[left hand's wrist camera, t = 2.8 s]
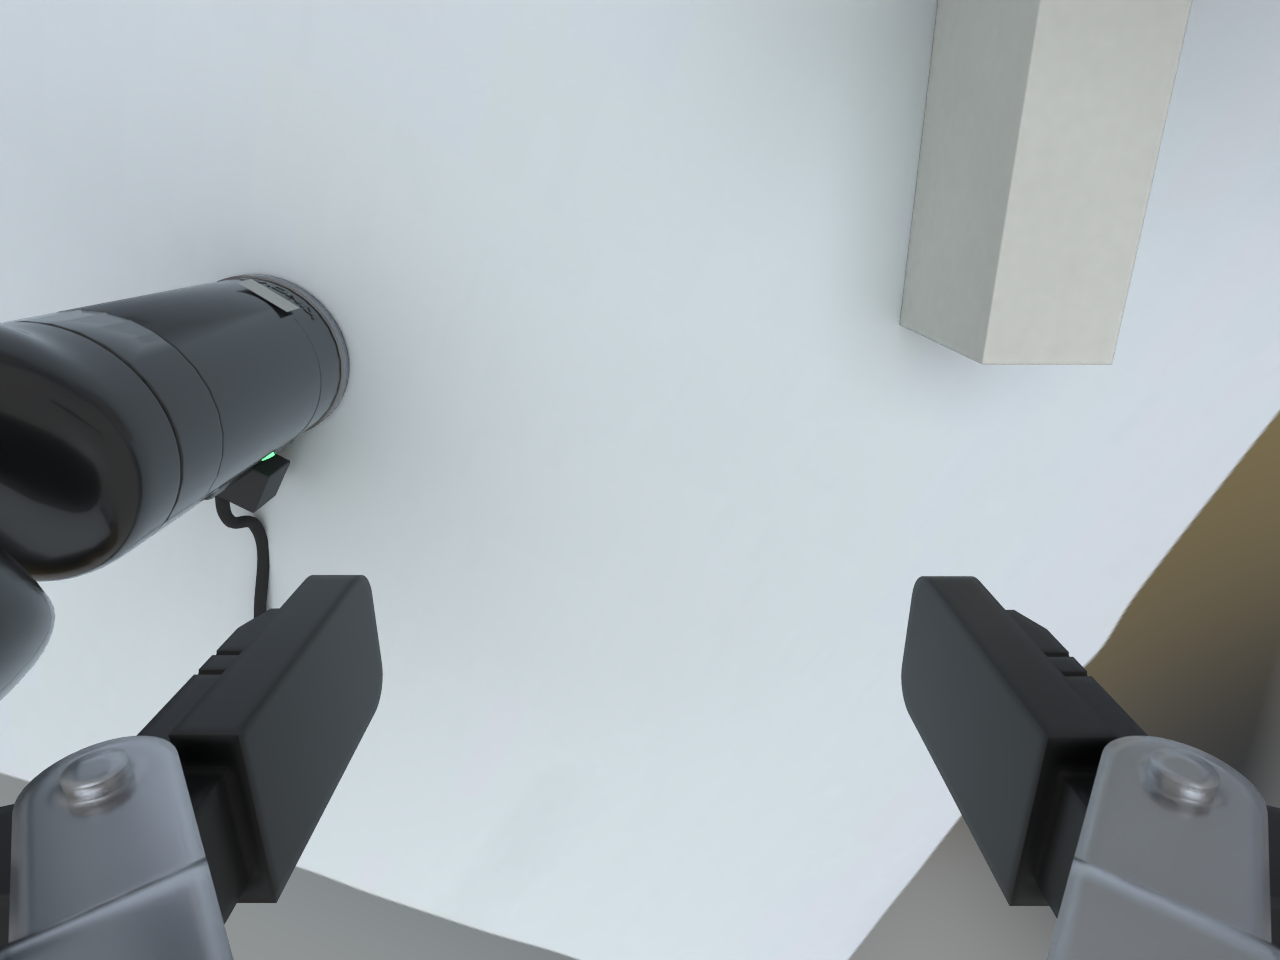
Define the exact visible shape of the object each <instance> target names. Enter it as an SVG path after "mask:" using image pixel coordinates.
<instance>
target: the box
mask: <svg viewBox="0 0 1280 960" xmlns="http://www.w3.org/2000/svg"><path fill="white" fill-rule="evenodd" d="M1191 4H1192V0H938V7H937V15H936V24H935V32H934V40H933V49H932V57H931V66H930V74H929V82H928V91H927V99H926V108H925V116H924V124H923V133H922V141H921V150H920V158H919V166H918V175H917V183H916V192H915V200H914V208H913V217H912V225H911V234H910V242H909V250H908V259H907V267H906V276H905V284H904V292H903V301H902V309H901V318H900V325H901V326H903V327H905V328H907V329H909V330H912V331H914V332H916V333H918V334H920V335H922V336H924V337H926V338H928V339H930V340H932V341H935V342H937V343H939V344H941V345H943V346H945V347H947V348H949V349H951V350H953V351H956V352H958V353H960V354H962V355H964V356H966V357H968V358H970V359H972V360H974V361H976V362H979V363H981V364H1112V362H1113V358H1114V353H1115V349H1116V344H1117V340H1118V335H1119V331H1120V326H1121V322H1122V317H1123V312H1124V308H1125V303H1126V299H1127V294H1128V290H1129V285H1130V281H1131V276H1132V272H1133V267H1134V263H1135V258H1136V253H1137V249H1138V244H1139V240H1140V235H1141V231H1142V226H1143V222H1144V217H1145V213H1146V208H1147V204H1148V199H1149V194H1150V190H1151V185H1152V181H1153V176H1154V172H1155V167H1156V163H1157V158H1158V154H1159V149H1160V145H1161V140H1162V135H1163V131H1164V126H1165V122H1166V117H1167V113H1168V108H1169V104H1170V99H1171V95H1172V90H1173V86H1174V81H1175V77H1176V72H1177V67H1178V63H1179V58H1180V54H1181V49H1182V45H1183V40H1184V36H1185V31H1186V27H1187V22H1188V18H1189V13H1190V8H1191Z"/></svg>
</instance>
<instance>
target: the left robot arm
mask: <svg viewBox="0 0 1280 960" xmlns="http://www.w3.org/2000/svg"><path fill="white" fill-rule="evenodd" d="M348 374H349V362H348V354H347V349H346V345H345V342H344V339H343V336H342V334H341V332H340V330H339V328H338V326H337V324H336V322H335V321H334V319H333V318H332V316H331V315H330V314H329V312H328V311H327V310H326V309H325V307H324V306H323V305H322V304H321V303H320V302H319V301H318V300H316V299H315V298H314V297H313V296H312V295H310V294H309V293H308V292H306V291H305V290H303V289H302V288H300V287H298V286H297V285H295V284H293V283H290V282H288V281H286V280H283V279H280V278H276V277H273V276H267V275H258V274H248V275H240V276H235V277H230V278H226V279H223V280H220V281H217V282H214V283H208V284H202V285H196V286H191V287H186V288H181V289H175V290H170V291H165V292H160V293H154V294H149V295H144V296H139V297H133V298H128V299H123V300H118V301H112V302H107V303H102V304H97V305H92V306H86V307H81V308H76V309H71V310H65V311H60V312H56V313H51V314H46V315H41V316H35V317H30V318H25V319H20V320H14V321H9V322H4V323H0V701H1V700H2V699H3V698H4V697H5V696H6V695H7V694H8V693H9V692H10V691H11V690H12V689H13V688H14V687H15V686H16V685H17V683H18V682H19V681H20V680H21V679H22V678H23V677H24V676H25V675H26V673H27V672H28V671H29V670H30V669H31V668H32V667H33V666H34V664H35V663H36V662H37V660H38V659H39V658H40V656H41V655H42V653H43V652H44V650H45V648H46V646H47V644H48V642H49V640H50V637H51V634H52V631H53V627H54V621H55V612H54V607H53V605H52V602H51V600H50V598H49V597H48V596H47V595H46V593H45V592H44V591H43V590H42V588H41V587H40V586H39V585H38V583H37V582H36V581H56V580H64V579H70V578H74V577H78V576H81V575H84V574H87V573H91V572H93V571H96V570H98V569H101V568H103V567H104V566H106V565H108V564H110V563H112V562H114V561H115V560H117V559H119V558H121V557H122V556H124V555H125V554H127V553H128V552H129V551H131V550H132V549H134V548H135V547H137V546H138V545H140V544H141V543H142V542H144V541H145V540H147V539H148V538H149V537H151V536H152V535H154V534H155V533H157V532H158V531H160V530H161V529H162V528H164V527H165V526H167V525H168V524H170V523H171V522H173V521H174V520H176V519H177V518H179V517H180V516H181V515H183V514H184V513H186V512H187V511H189V510H190V509H192V508H193V507H194V506H195V505H197V504H198V503H200V502H201V501H203V500H209V499H212V498H214V497H215V502H216V509H217V513H218V515H219V517H220V519H221V521H222V522H223V523H224V524H225V525H226V526H227V527H230V528H234V529H238V528H244V527H249V528H250V530H251V532H252V533H253V535H254V538H255V541H256V546H257V576H256V587H255V599H254V619H252V620H251V621H249V622H247V623H246V624H244V625H242V626H241V627H239V628H238V629H237V630H236V631H235V632H234V633H233V634H232V635H231V636H230V637H229V638H228V639H227V640H226V641H225V642H224V643H223V644H222V646H221V647H220V648H219V649H218V650H217V654H216V655H212V656H211V657H210V658H209V659H208V660H207V661H206V663H205V664H204V665H203V666H202V667H201V668H200V669H199V673H198V675H193V676H192V677H191V678H190V680H189V681H188V682H187V683H186V684H185V685H184V686H183V687H182V688H181V689H180V690H179V691H178V692H177V693H176V694H175V695H174V697H173V698H172V699H171V700H170V701H169V702H168V703H167V704H166V705H165V706H164V707H163V708H162V709H161V710H160V711H159V712H158V714H157V715H156V716H155V717H154V718H153V719H152V720H151V721H150V722H149V723H148V724H147V725H146V726H145V727H144V728H143V729H142V731H141V732H140V733H139V734H138V735H137V736H130V737H122V738H117V739H112V740H108V741H105V742H101V743H98V744H95V745H92V746H89V747H87V748H84V749H81V750H79V751H77V752H75V753H73V754H71V755H69V756H67V757H65V758H63V759H61V760H60V761H58V762H56V763H54V764H53V765H51V766H50V767H48V768H47V769H45V770H44V771H43V772H41V773H40V774H39V775H38V776H36V777H35V778H34V779H33V780H32V781H31V782H30V783H29V784H28V785H27V786H26V787H25V788H24V789H23V791H22V792H21V793H20V795H19V796H18V798H17V800H16V802H15V804H12V805H7V806H3V807H0V960H234V959H233V956H232V952H231V948H230V944H229V941H228V937H227V933H226V930H225V926H224V924H225V922H226V921H227V919H228V917H229V916H230V914H231V912H232V910H233V909H234V907H235V905H236V903H277V901H278V899H279V897H280V895H281V893H282V891H283V889H284V887H285V885H286V883H287V881H288V879H289V878H290V876H291V874H292V872H293V870H294V868H295V866H296V864H297V862H298V860H299V858H300V856H301V854H302V852H303V851H304V849H305V847H306V845H307V843H308V841H309V839H310V837H311V835H312V833H313V831H314V829H315V827H316V825H317V824H318V822H319V820H320V818H321V816H322V814H323V812H324V810H325V808H326V806H327V804H328V802H329V800H330V798H331V796H332V795H333V793H334V791H335V789H336V787H337V785H338V783H339V781H340V779H341V777H342V775H343V773H344V771H345V769H346V768H347V766H348V764H349V762H350V760H351V758H352V756H353V754H354V752H355V750H356V748H357V746H358V744H359V742H360V740H361V739H362V737H363V735H364V733H365V731H366V729H367V727H368V725H369V723H370V721H371V719H372V717H373V715H374V713H375V711H376V709H377V706H378V704H379V700H380V695H381V689H382V677H383V673H382V662H381V654H380V647H379V640H378V633H377V626H376V619H375V612H374V604H373V597H372V591H371V587H370V583H369V581H368V579H367V578H366V577H365V576H363V575H311V576H309V577H308V578H307V579H305V581H304V582H303V583H302V584H301V585H300V586H299V587H298V588H297V590H296V591H295V592H294V593H293V594H292V595H291V596H290V598H289V599H288V600H287V601H286V602H285V603H284V604H283V605H282V607H281V608H280V609H269V610H268V611H266V599H267V587H268V577H269V550H268V540H267V536H266V533H265V531H264V528H263V527H262V525H261V523H260V522H259V520H258V519H257V518H255V517H252V516H240V517H235V516H234V515H233V514H232V512H231V509H230V503H229V501H230V502H232V503H234V504H236V505H238V506H240V507H242V508H244V509H246V510H248V511H250V512H252V513H254V512H255V511H257V510H258V509H259V508H260V507H262V506H263V505H264V504H265V503H267V502H268V501H269V500H270V499H271V498H273V497H274V496H275V495H276V493H277V491H278V489H279V486H280V484H281V482H282V479H283V477H284V475H285V473H286V470H287V468H288V466H289V464H290V461H289V460H287V459H285V458H283V457H281V456H279V455H277V453H278V452H280V451H281V450H283V449H284V448H286V447H287V446H289V445H290V444H291V443H292V441H293V439H294V438H295V437H297V436H298V435H300V434H301V433H303V432H305V431H307V430H309V429H311V428H313V427H315V426H316V425H317V424H319V423H320V422H322V421H323V420H324V419H326V418H327V417H328V416H329V415H330V414H331V413H332V412H333V411H334V410H335V408H336V407H337V405H338V404H339V402H340V401H341V399H342V397H343V394H344V392H345V389H346V385H347V381H348ZM901 680H902V691H903V697H904V701H905V705H906V708H907V711H908V713H909V715H910V717H911V719H912V721H913V723H914V724H915V726H916V728H917V730H918V732H919V734H920V736H921V738H922V740H923V742H924V743H925V745H926V747H927V749H928V751H929V753H930V755H931V757H932V759H933V761H934V763H935V764H936V766H937V768H938V770H939V772H940V774H941V776H942V778H943V780H944V782H945V784H946V785H947V787H948V789H949V791H950V793H951V795H952V797H953V799H954V801H955V803H956V805H957V806H958V808H959V810H960V812H961V814H962V816H963V818H964V820H965V822H966V824H967V825H968V827H969V829H970V831H971V833H972V835H973V837H974V839H975V841H976V843H977V845H978V846H979V848H980V850H981V852H982V854H983V856H984V858H985V860H986V862H987V864H988V866H989V867H990V869H991V871H992V873H993V875H994V877H995V879H996V881H997V883H998V885H999V887H1000V888H1001V890H1002V892H1003V894H1004V896H1005V898H1006V900H1007V902H1008V904H1009V905H1010V906H1050V907H1051V909H1052V911H1053V912H1054V914H1055V916H1056V918H1057V922H1056V926H1055V930H1054V933H1053V937H1052V941H1051V944H1050V948H1049V952H1048V956H1047V959H1046V960H1280V808H1276V807H1272V806H1268V805H1266V804H1265V802H1264V800H1263V798H1262V796H1261V795H1260V793H1259V792H1258V791H1257V789H1256V788H1255V787H1254V786H1253V785H1252V784H1251V783H1250V782H1249V781H1248V780H1247V779H1246V778H1245V777H1244V776H1242V775H1241V774H1240V773H1239V772H1237V771H1236V770H1235V769H1233V768H1232V767H1230V766H1229V765H1227V764H1226V763H1224V762H1222V761H1220V760H1219V759H1217V758H1215V757H1213V756H1211V755H1209V754H1207V753H1205V752H1203V751H1201V750H1199V749H1196V748H1193V747H1191V746H1188V745H1185V744H1182V743H1179V742H1175V741H1172V740H1168V739H1163V738H1158V737H1150V736H1148V735H1147V734H1146V733H1145V732H1144V731H1143V730H1142V729H1141V728H1140V727H1139V726H1138V725H1137V724H1136V723H1135V722H1134V721H1133V719H1132V718H1131V717H1130V716H1129V715H1128V714H1127V713H1126V712H1125V711H1124V710H1123V709H1122V708H1121V707H1120V706H1119V705H1118V704H1117V703H1116V702H1115V700H1114V699H1113V698H1112V697H1111V696H1110V695H1109V694H1108V693H1107V692H1106V691H1105V690H1104V689H1103V688H1102V687H1101V686H1100V685H1099V684H1098V683H1097V682H1096V681H1095V679H1094V678H1093V677H1091V676H1087V671H1086V670H1085V669H1084V668H1083V667H1082V666H1081V665H1080V664H1079V663H1078V662H1077V660H1076V659H1075V658H1074V657H1069V652H1068V651H1067V650H1066V649H1065V648H1064V647H1063V646H1062V645H1061V644H1060V643H1059V642H1058V640H1057V639H1056V638H1055V637H1054V636H1053V635H1052V634H1051V633H1050V632H1049V631H1048V630H1047V629H1045V628H1044V627H1042V626H1040V625H1039V624H1037V623H1035V622H1034V621H1032V620H1030V619H1028V618H1027V617H1025V616H1023V615H1022V614H1020V613H1018V612H1017V611H1015V610H1005V609H1004V608H1003V607H1002V606H1001V605H1000V604H999V602H998V601H997V600H996V599H995V598H994V597H993V596H992V595H991V593H990V592H989V591H988V590H987V589H986V588H985V587H984V586H983V584H982V583H981V582H980V581H979V580H978V579H977V578H975V577H972V576H922V577H919V578H918V579H917V581H916V583H915V585H914V588H913V593H912V599H911V606H910V613H909V620H908V628H907V635H906V642H905V649H904V656H903V663H902V673H901Z"/></svg>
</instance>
